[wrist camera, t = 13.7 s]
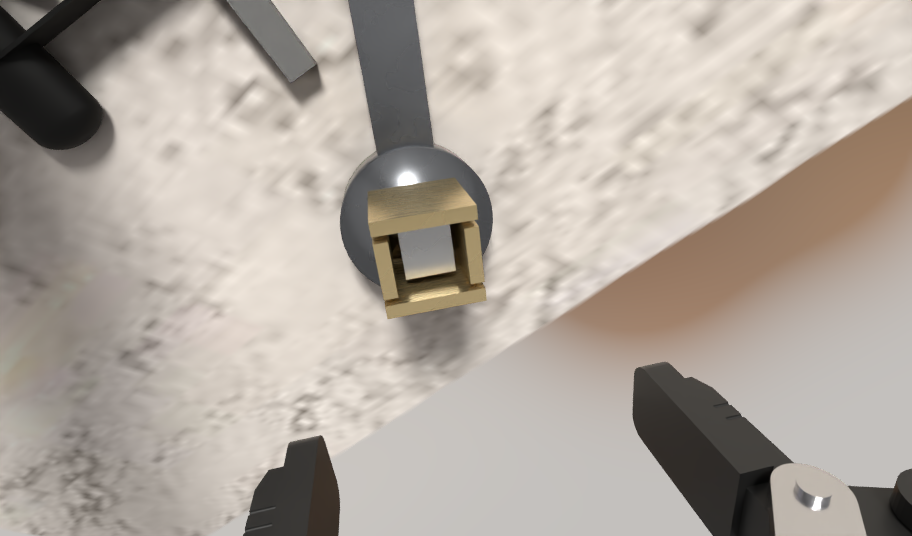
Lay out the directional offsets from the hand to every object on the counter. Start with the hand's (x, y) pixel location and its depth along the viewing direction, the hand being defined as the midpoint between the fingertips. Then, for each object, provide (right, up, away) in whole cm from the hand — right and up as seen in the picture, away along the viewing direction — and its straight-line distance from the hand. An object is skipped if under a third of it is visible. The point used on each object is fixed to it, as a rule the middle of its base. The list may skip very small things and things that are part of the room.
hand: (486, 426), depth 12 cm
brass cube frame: (-3, +6, +16) cm, 18 cm away
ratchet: (-4, +14, +16) cm, 21 cm away
